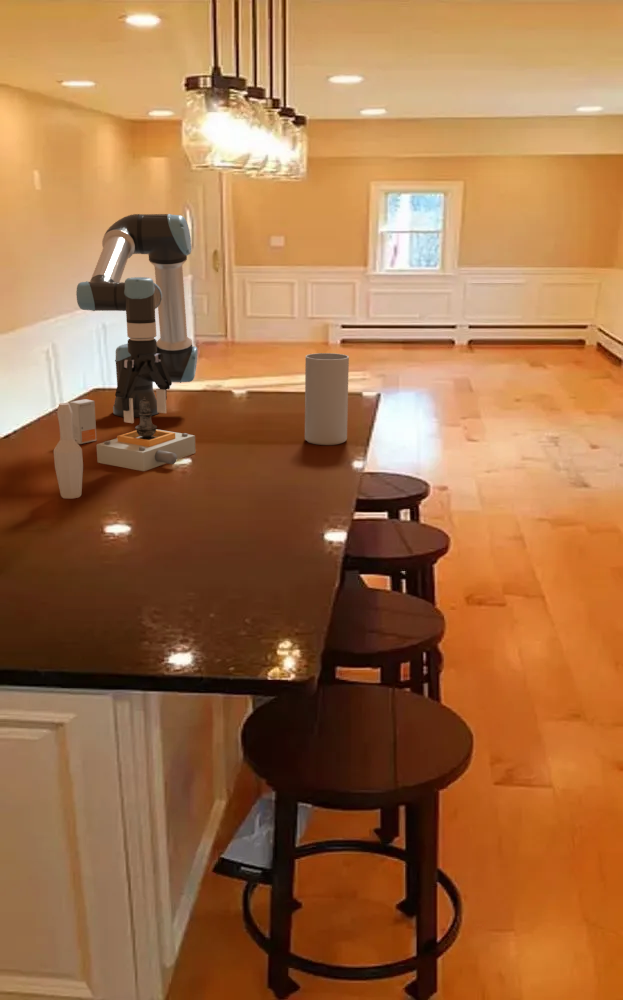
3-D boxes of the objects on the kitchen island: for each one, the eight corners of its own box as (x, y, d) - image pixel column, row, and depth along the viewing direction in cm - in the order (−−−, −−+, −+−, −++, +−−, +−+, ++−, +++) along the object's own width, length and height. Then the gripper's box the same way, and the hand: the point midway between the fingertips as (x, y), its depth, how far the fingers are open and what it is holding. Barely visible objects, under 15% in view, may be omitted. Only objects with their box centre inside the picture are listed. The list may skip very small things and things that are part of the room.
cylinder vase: (300, 444, 256) (300, 358, 248) (310, 434, 268) (311, 352, 260) (342, 447, 253) (344, 360, 245) (350, 437, 265) (352, 354, 257)
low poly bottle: (57, 500, 203) (49, 407, 196) (57, 492, 209) (49, 401, 202) (85, 498, 205) (78, 406, 198) (84, 490, 211) (78, 400, 204)
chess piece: (153, 443, 235) (150, 398, 231) (132, 441, 236) (129, 398, 232) (160, 437, 240) (158, 394, 237) (140, 436, 242) (138, 393, 238)
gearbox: (150, 445, 253) (149, 423, 251) (210, 455, 243) (209, 432, 241) (97, 462, 235) (96, 438, 233) (159, 474, 225) (158, 449, 223)
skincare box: (81, 444, 252) (78, 403, 249) (71, 442, 255) (68, 401, 251) (97, 440, 257) (95, 400, 253) (88, 438, 259) (85, 398, 256)
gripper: (161, 331, 242) (164, 407, 249) (97, 343, 221) (103, 424, 228) (182, 334, 238) (185, 410, 245) (120, 345, 218) (125, 428, 225)
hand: (145, 417), depth 237 cm, fingers open, 13 cm apart
